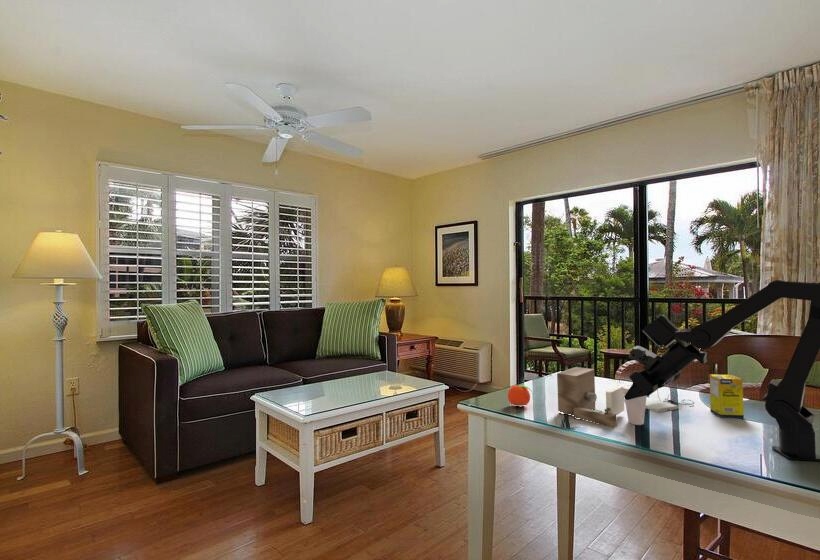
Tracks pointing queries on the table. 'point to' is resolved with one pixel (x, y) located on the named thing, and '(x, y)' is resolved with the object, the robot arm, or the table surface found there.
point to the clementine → (519, 395)
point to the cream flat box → (615, 400)
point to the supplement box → (726, 396)
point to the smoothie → (635, 408)
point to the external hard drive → (658, 405)
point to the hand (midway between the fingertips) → (629, 396)
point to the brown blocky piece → (581, 396)
